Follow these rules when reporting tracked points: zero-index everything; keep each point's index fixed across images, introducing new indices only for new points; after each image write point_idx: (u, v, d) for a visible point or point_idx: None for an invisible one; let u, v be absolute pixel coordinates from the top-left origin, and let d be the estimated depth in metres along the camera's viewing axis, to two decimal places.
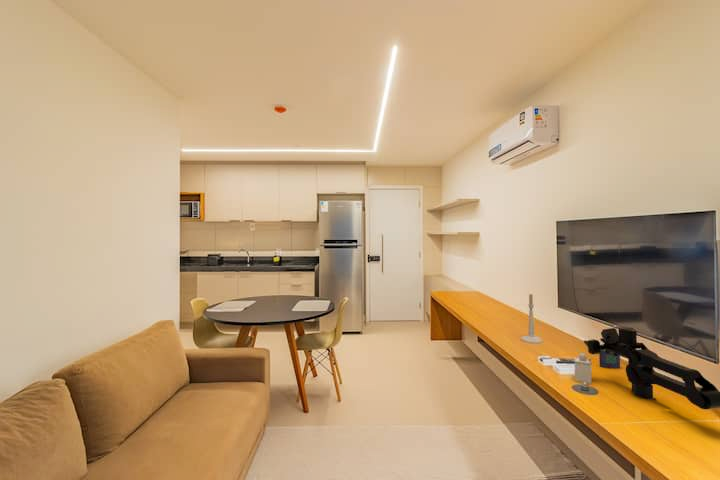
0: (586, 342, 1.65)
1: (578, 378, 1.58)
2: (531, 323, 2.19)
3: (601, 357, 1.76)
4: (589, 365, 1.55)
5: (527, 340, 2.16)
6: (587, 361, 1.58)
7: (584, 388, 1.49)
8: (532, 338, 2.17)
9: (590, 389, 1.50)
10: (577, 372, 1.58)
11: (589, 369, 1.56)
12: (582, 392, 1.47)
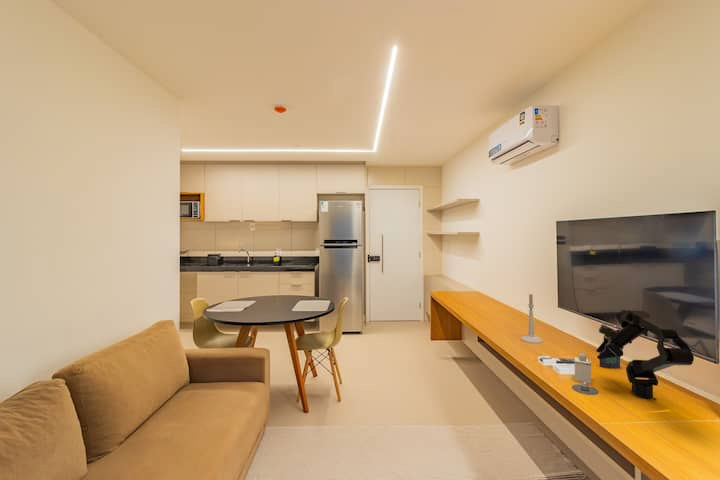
0: (601, 355, 1.51)
1: (578, 378, 1.58)
2: (531, 323, 2.19)
3: None
4: (589, 365, 1.55)
5: (527, 340, 2.16)
6: (587, 361, 1.58)
7: (584, 388, 1.49)
8: (532, 338, 2.17)
9: (590, 389, 1.50)
10: (577, 372, 1.58)
11: (589, 369, 1.56)
12: (582, 392, 1.47)
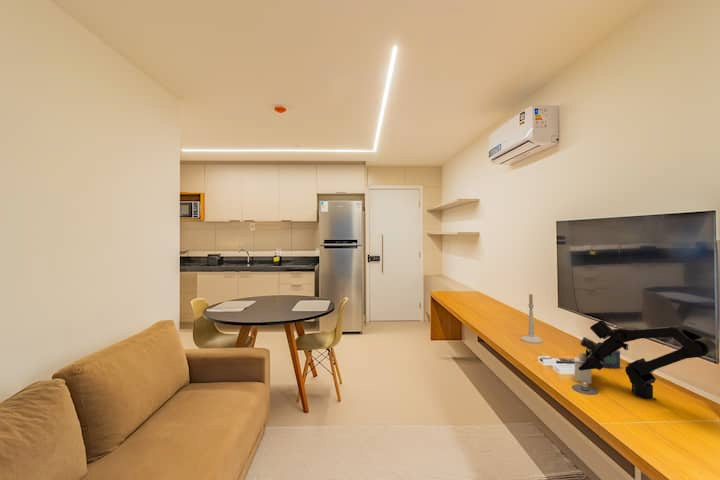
0: (583, 366, 1.56)
1: (578, 378, 1.58)
2: (531, 323, 2.19)
3: None
4: None
5: (527, 340, 2.16)
6: None
7: (584, 388, 1.49)
8: (532, 338, 2.17)
9: (590, 389, 1.50)
10: (577, 372, 1.58)
11: (588, 369, 1.56)
12: (582, 392, 1.47)
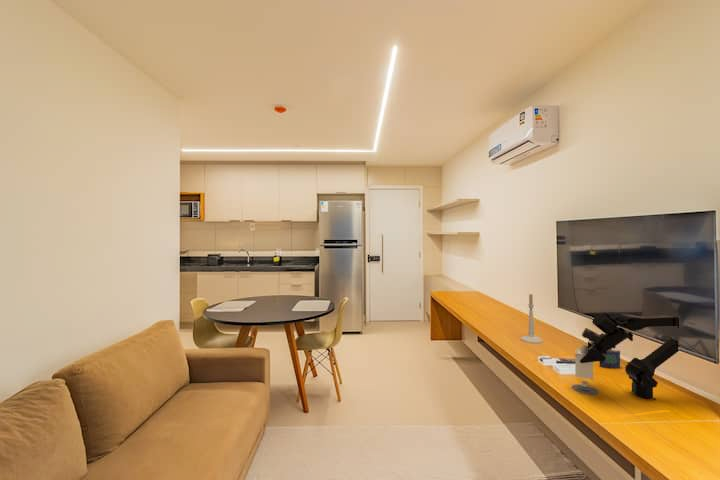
0: (584, 359, 1.46)
1: (579, 371, 1.49)
2: (531, 323, 2.19)
3: None
4: None
5: (527, 340, 2.16)
6: None
7: (584, 388, 1.49)
8: (532, 338, 2.17)
9: (590, 389, 1.50)
10: (578, 365, 1.49)
11: (590, 362, 1.46)
12: (582, 392, 1.47)
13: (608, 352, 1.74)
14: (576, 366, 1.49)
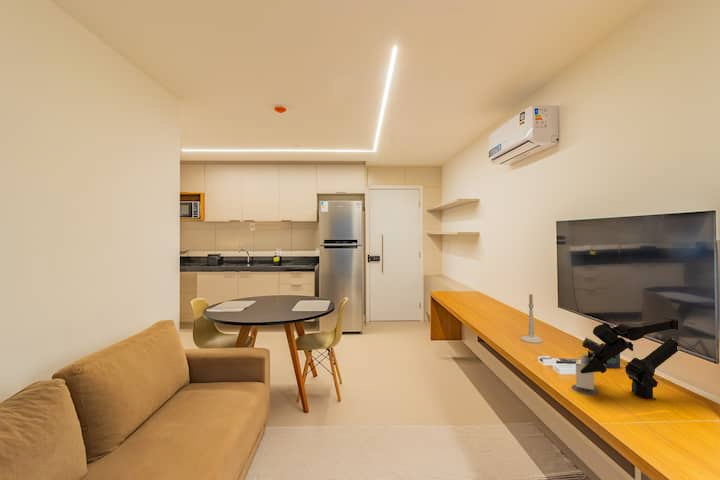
0: (585, 369, 1.46)
1: (580, 382, 1.48)
2: (531, 323, 2.19)
3: None
4: None
5: (527, 340, 2.16)
6: None
7: (584, 388, 1.49)
8: (532, 338, 2.17)
9: (590, 389, 1.50)
10: (579, 375, 1.48)
11: (591, 372, 1.46)
12: (582, 392, 1.47)
13: None
14: (577, 376, 1.48)
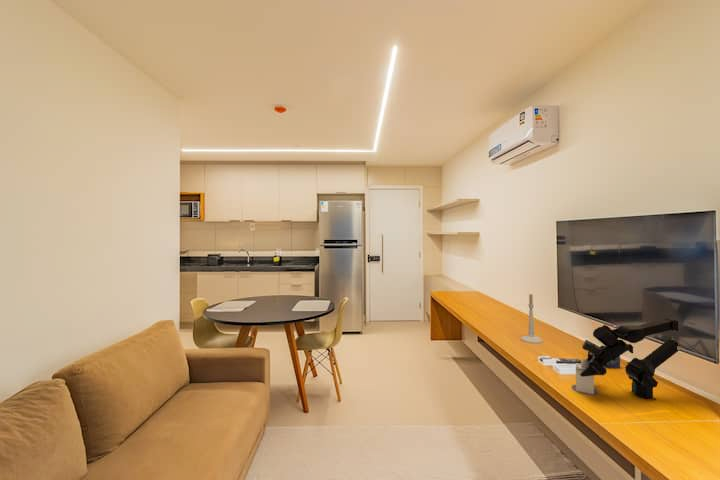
0: (585, 372, 1.45)
1: (580, 386, 1.48)
2: (531, 323, 2.19)
3: None
4: None
5: (527, 340, 2.16)
6: None
7: None
8: (532, 338, 2.17)
9: None
10: (578, 379, 1.48)
11: (591, 377, 1.46)
12: (582, 392, 1.47)
13: None
14: (577, 380, 1.49)
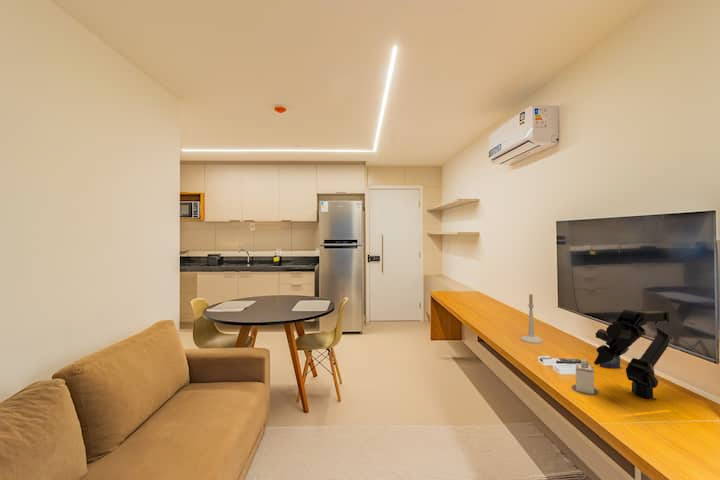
0: (597, 360, 1.46)
1: (580, 386, 1.48)
2: (531, 323, 2.19)
3: None
4: (591, 372, 1.46)
5: (527, 340, 2.16)
6: (589, 368, 1.48)
7: None
8: (532, 338, 2.17)
9: None
10: (578, 379, 1.48)
11: (591, 377, 1.46)
12: (582, 392, 1.47)
13: None
14: (577, 380, 1.49)
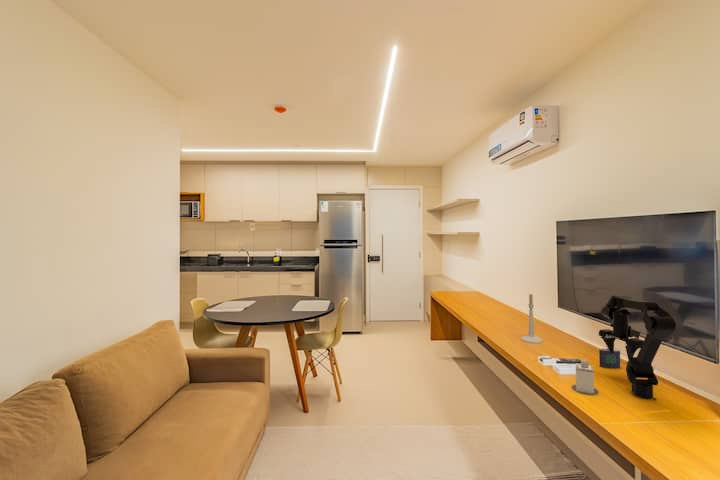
0: None
1: (580, 386, 1.48)
2: (531, 323, 2.19)
3: (601, 357, 1.76)
4: (591, 372, 1.46)
5: (527, 340, 2.16)
6: (589, 368, 1.48)
7: None
8: (532, 338, 2.17)
9: None
10: (578, 379, 1.48)
11: (591, 377, 1.46)
12: (582, 392, 1.47)
13: (608, 352, 1.74)
14: (577, 380, 1.49)
